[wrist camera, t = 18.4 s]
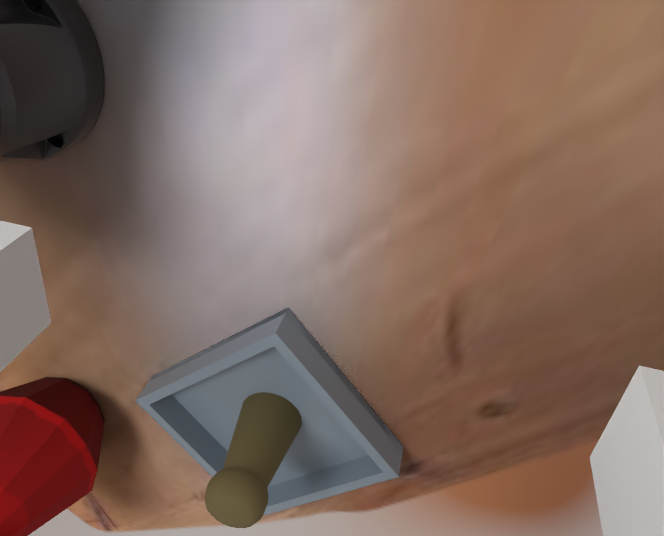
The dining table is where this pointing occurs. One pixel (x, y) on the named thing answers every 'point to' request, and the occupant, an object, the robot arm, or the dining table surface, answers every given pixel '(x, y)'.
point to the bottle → (46, 451)
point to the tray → (294, 385)
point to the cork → (252, 459)
